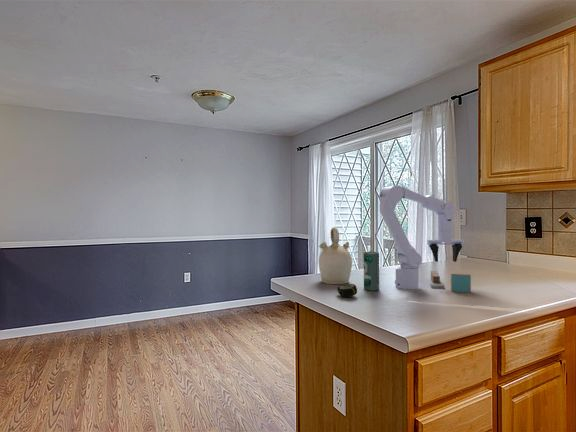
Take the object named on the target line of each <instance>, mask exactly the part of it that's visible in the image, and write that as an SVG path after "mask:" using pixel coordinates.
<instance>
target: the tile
mask: <svg viewBox="0 0 576 432" xmlns="http://www.w3.org/2000/svg"><path fill="white" fill-rule="evenodd" d="M449 277H450V278H449V280H450V281H449V286H450V287H449V288H450V289H449V290H450V292H457V293H471V292H472V290H471V289H472V284H471V283H472V279H471V278H472V276H471V273H467V272H466V273H465V272H464V273H462V272H449Z"/></svg>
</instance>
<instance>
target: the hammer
mask: <svg viewBox="0 0 576 432" xmlns="http://www.w3.org/2000/svg"><path fill="white" fill-rule="evenodd" d="M430 280H431V282H430V284H429V285H430V288H431V289H441V290H442V289H445V284H444V283H442V282H440V281H441V276H440V275H439V273H438V271H437V270H430Z"/></svg>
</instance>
